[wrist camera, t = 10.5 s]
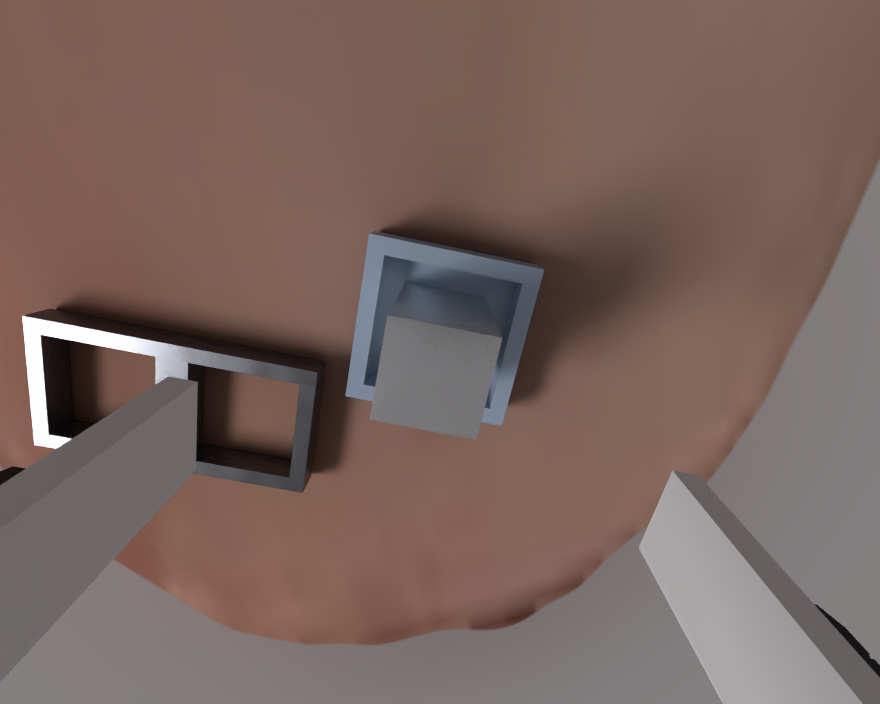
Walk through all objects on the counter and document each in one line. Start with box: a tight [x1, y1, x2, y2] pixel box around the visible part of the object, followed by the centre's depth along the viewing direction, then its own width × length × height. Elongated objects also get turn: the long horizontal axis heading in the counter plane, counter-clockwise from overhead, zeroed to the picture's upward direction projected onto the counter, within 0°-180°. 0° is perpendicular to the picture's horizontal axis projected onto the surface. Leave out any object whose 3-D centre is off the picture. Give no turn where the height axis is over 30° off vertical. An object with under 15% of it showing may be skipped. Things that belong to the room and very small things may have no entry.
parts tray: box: [345, 231, 544, 426], centre depth 28 cm, size 10×10×2 cm
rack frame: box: [22, 309, 326, 493], centre depth 30 cm, size 9×18×2 cm, turn 79°
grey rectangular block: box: [370, 281, 502, 440], centre depth 24 cm, size 5×5×9 cm
